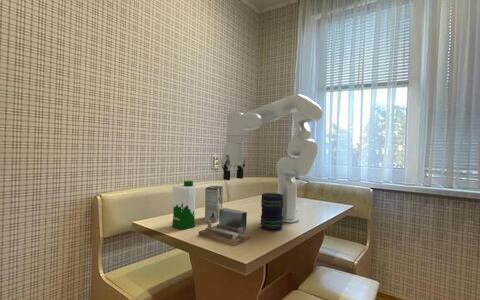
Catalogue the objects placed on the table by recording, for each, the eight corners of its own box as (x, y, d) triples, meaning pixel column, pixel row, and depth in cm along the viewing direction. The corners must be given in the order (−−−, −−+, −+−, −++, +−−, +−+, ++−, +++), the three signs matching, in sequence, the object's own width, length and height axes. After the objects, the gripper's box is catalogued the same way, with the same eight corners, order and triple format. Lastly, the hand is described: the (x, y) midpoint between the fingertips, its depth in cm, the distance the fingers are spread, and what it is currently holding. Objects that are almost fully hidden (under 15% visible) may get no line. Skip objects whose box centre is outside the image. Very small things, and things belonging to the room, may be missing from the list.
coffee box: (210, 216, 135) (211, 185, 135) (222, 217, 134) (223, 186, 134) (204, 221, 126) (205, 187, 126) (217, 222, 125) (218, 188, 125)
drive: (224, 225, 121) (224, 207, 121) (246, 230, 114) (246, 212, 114) (218, 227, 118) (219, 209, 118) (241, 232, 111) (241, 213, 111)
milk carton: (197, 226, 117) (199, 181, 117) (181, 231, 110) (182, 183, 110) (185, 222, 123) (186, 179, 123) (168, 226, 116) (170, 181, 116)
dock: (214, 229, 114) (215, 217, 114) (249, 238, 104) (250, 225, 104) (198, 235, 106) (199, 222, 106) (234, 245, 95) (235, 231, 95)
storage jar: (258, 229, 115) (259, 195, 115) (262, 224, 124) (263, 192, 124) (281, 232, 112) (282, 197, 112) (283, 226, 122) (284, 193, 122)
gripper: (239, 141, 125) (237, 177, 125) (215, 139, 111) (214, 179, 111) (252, 141, 121) (251, 178, 121) (229, 139, 107) (228, 181, 107)
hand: (233, 179), depth 116 cm, fingers open, 9 cm apart
